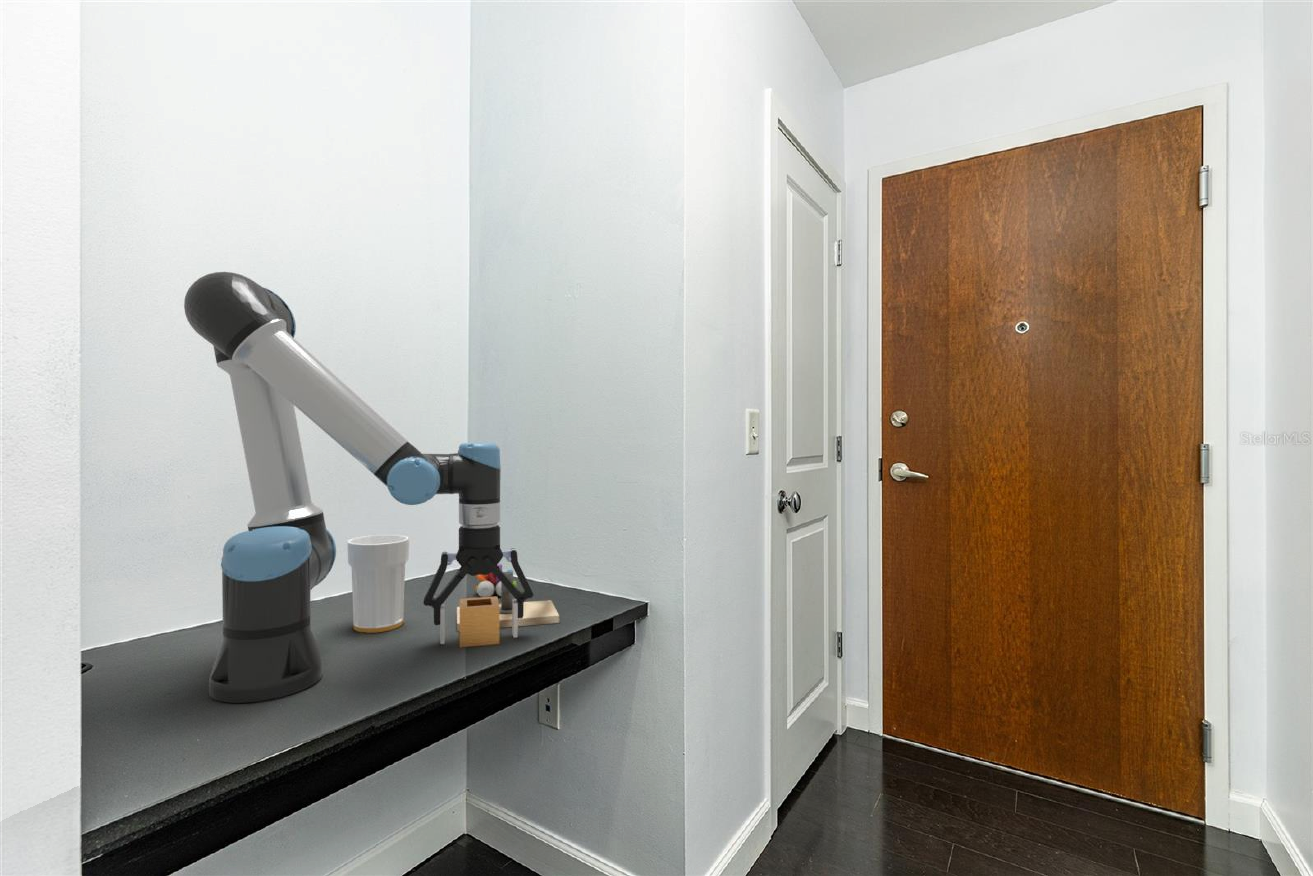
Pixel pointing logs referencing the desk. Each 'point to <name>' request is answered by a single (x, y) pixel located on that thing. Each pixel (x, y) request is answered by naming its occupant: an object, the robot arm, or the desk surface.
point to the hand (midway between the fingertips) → (479, 638)
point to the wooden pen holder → (479, 621)
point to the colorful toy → (489, 584)
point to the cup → (378, 581)
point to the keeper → (531, 614)
